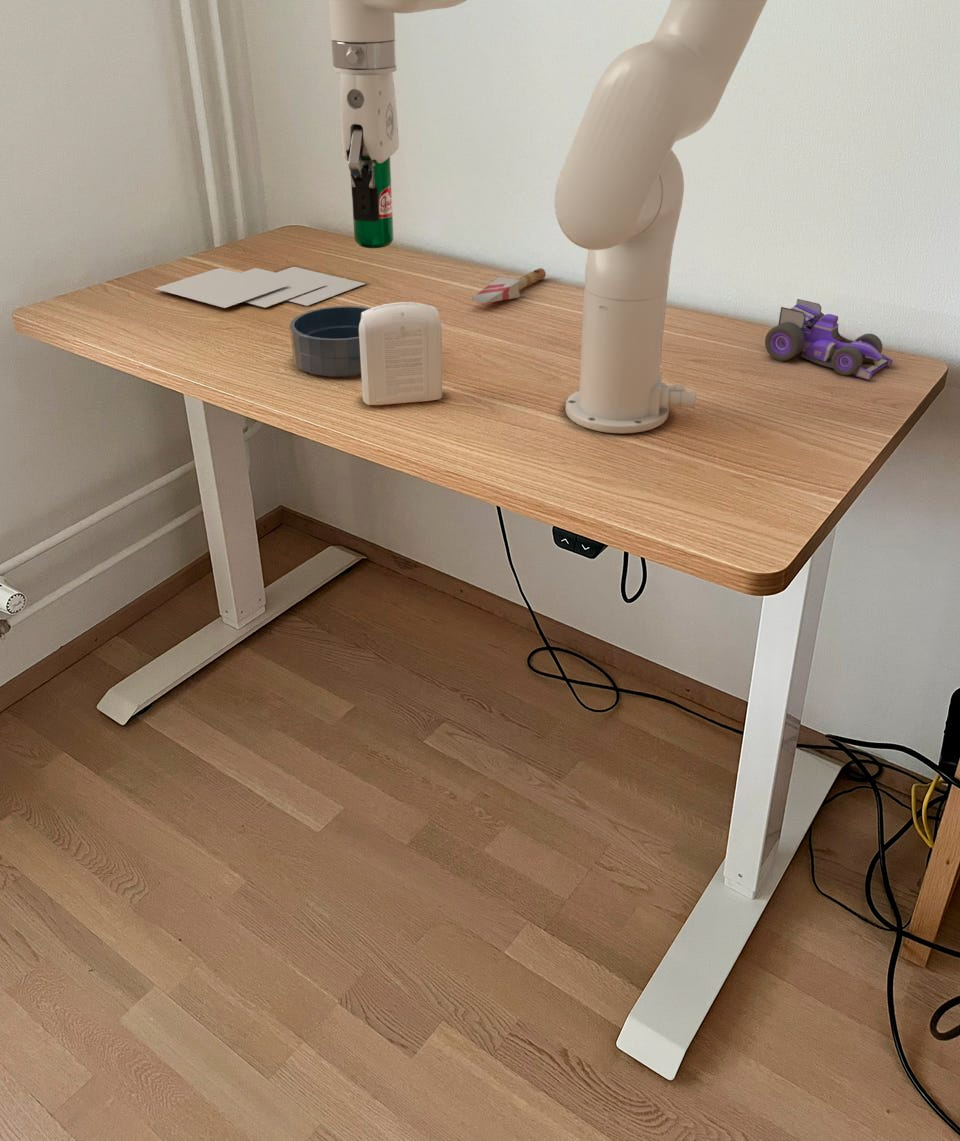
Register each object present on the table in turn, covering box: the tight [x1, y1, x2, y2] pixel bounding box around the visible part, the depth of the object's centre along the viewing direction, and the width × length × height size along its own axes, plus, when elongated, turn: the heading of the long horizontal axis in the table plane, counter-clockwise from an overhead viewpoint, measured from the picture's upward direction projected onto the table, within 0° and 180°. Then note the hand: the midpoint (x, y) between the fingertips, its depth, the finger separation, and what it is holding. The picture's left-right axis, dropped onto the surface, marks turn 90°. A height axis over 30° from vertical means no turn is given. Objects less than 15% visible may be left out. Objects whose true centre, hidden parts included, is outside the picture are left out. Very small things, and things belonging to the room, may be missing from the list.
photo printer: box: [359, 301, 443, 406], centre depth 126 cm, size 10×4×12 cm, turn 103°
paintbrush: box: [469, 267, 547, 304], centre depth 164 cm, size 4×3×20 cm
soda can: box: [349, 156, 395, 249], centre depth 130 cm, size 5×5×12 cm
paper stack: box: [154, 266, 366, 309], centre depth 167 cm, size 23×25×1 cm
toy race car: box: [764, 298, 894, 381], centre depth 138 cm, size 10×15×6 cm, turn 48°
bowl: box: [289, 305, 372, 378], centre depth 139 cm, size 14×14×6 cm
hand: (372, 213), depth 131 cm, fingers closed on soda can, 5 cm apart
